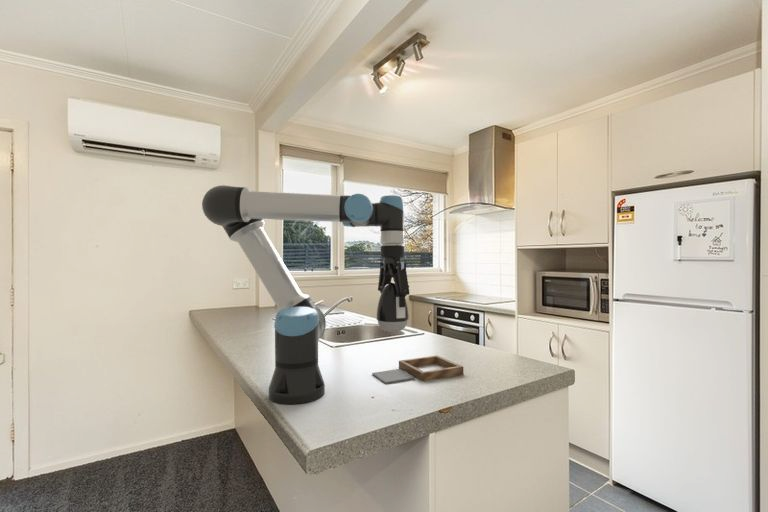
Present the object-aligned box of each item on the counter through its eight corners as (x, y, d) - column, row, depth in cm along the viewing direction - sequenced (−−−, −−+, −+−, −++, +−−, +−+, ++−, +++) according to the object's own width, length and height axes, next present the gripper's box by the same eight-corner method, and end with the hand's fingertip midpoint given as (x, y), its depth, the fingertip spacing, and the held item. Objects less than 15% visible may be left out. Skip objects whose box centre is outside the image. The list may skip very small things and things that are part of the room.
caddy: (422, 381, 113) (422, 373, 113) (398, 368, 127) (398, 360, 127) (463, 374, 120) (463, 366, 120) (436, 362, 134) (436, 355, 134)
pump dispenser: (410, 333, 112) (409, 283, 113) (375, 333, 113) (375, 283, 113) (408, 327, 123) (408, 281, 123) (377, 327, 123) (376, 281, 123)
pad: (385, 384, 111) (385, 382, 111) (372, 374, 120) (372, 372, 120) (414, 379, 115) (414, 377, 115) (399, 370, 124) (399, 368, 124)
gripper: (420, 243, 109) (421, 319, 109) (387, 246, 130) (388, 310, 130) (398, 243, 106) (398, 321, 106) (367, 246, 126) (368, 311, 126)
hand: (392, 315), depth 118 cm, fingers closed on pump dispenser, 10 cm apart
